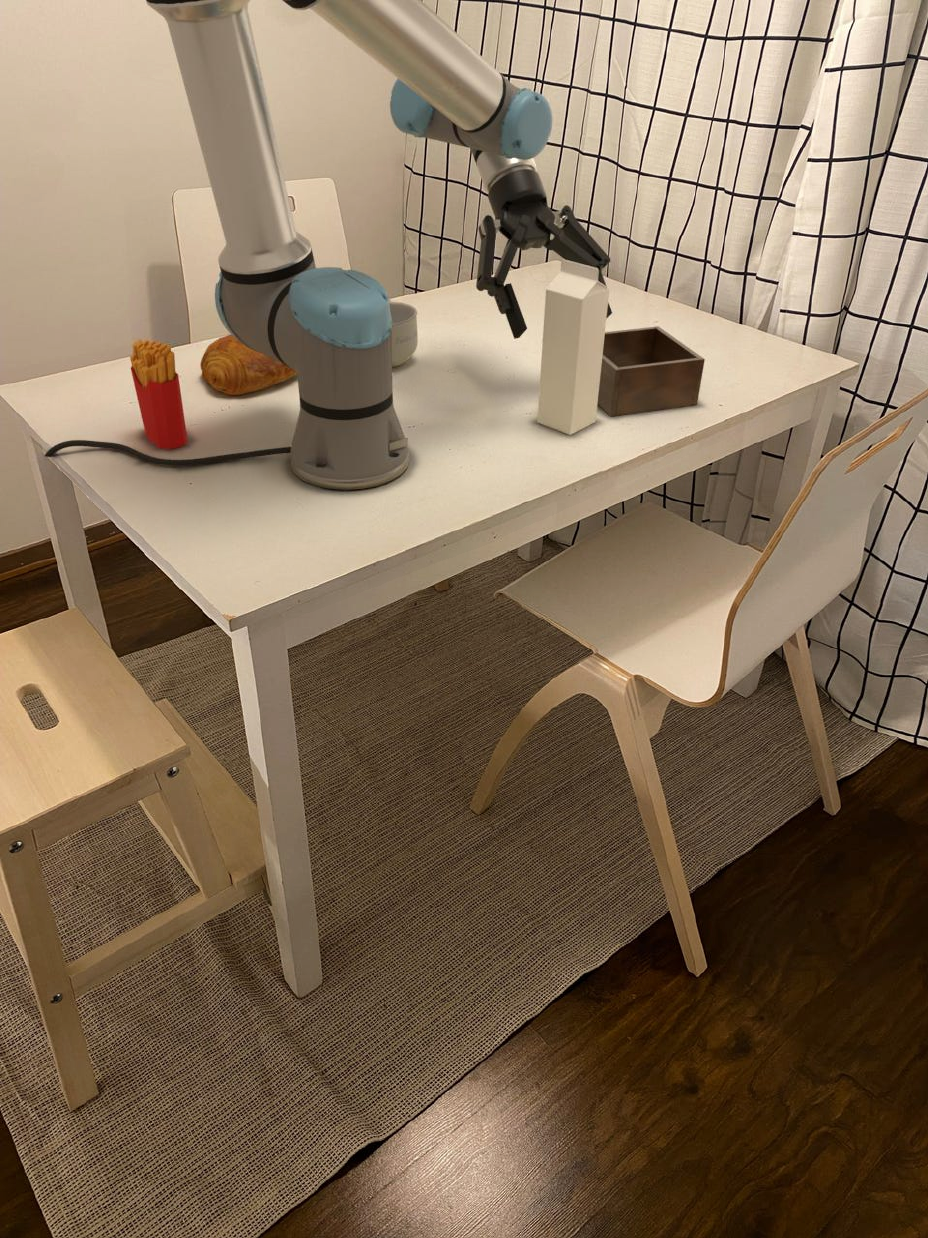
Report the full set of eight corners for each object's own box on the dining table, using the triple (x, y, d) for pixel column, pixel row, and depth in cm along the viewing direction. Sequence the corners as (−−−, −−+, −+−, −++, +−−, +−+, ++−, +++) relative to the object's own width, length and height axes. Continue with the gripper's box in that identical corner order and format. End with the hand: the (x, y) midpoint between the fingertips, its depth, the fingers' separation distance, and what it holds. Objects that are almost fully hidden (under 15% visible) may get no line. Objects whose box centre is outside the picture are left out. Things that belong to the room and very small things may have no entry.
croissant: (318, 390, 149) (321, 339, 145) (232, 405, 139) (232, 351, 135) (263, 362, 157) (265, 312, 153) (178, 374, 147) (177, 321, 143)
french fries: (138, 431, 132) (119, 338, 124) (167, 423, 134) (151, 331, 127) (167, 455, 126) (149, 360, 119) (197, 446, 129) (181, 352, 121)
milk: (570, 435, 133) (584, 274, 120) (536, 422, 136) (546, 263, 123) (596, 422, 137) (613, 263, 123) (562, 409, 140) (575, 253, 127)
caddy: (610, 416, 138) (616, 369, 134) (570, 379, 149) (574, 335, 145) (697, 404, 142) (704, 358, 138) (652, 369, 153) (658, 325, 148)
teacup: (408, 376, 149) (407, 325, 144) (341, 370, 150) (338, 319, 146) (429, 344, 160) (428, 296, 155) (366, 339, 161) (364, 291, 157)
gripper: (576, 190, 140) (625, 324, 138) (422, 208, 130) (473, 353, 129) (600, 157, 133) (652, 298, 131) (440, 174, 123) (494, 326, 122)
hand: (564, 325), depth 130 cm, fingers open, 13 cm apart
